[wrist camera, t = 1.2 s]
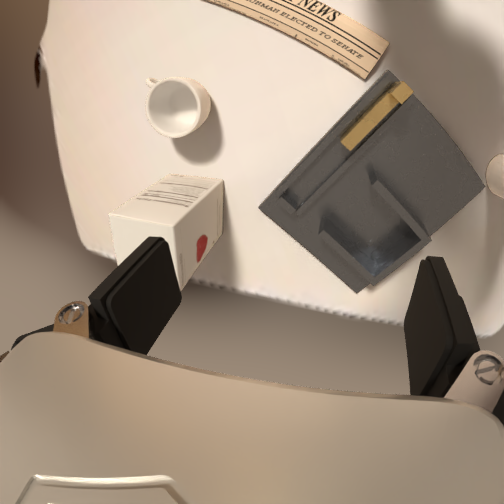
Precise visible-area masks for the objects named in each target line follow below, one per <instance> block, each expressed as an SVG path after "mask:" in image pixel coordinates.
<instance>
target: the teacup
mask: <svg viewBox="0 0 504 504" xmlns="http://www.w3.org/2000/svg"><path fill="white" fill-rule="evenodd" d="M152 82H153V83H152ZM154 83H155V84H154ZM146 84H147V85H148V86H149V87H150V88H151V89H150V91H149V93H148V95H147V98H146V102H145V111H146V116H147V119H148V121H149V123H150V124H151V126H152V127H153V128H154V129H155V130H156V131H157V132H158V133H160V134H161V135H163V136H166V137H169V138H179V137H183V136H185V135H187V134H189V133H191V132H193V131H195V130H196V129H198V128H199V127H200V126H201V125H202V124H203V122H204V121H205V120H206V119H207V117H208V115H209V113H210V107H211V102H210V96H209V94H208V92H207V90H206V89H205V88H204V87H203V86H202V85H201V84H200V83H199V82H197V81H195V80H193V79H190V78H183V77H171V78H166V79H163V80H160V81H159V80H157V79H154V78H148V79H147V80H146Z"/></svg>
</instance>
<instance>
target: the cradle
mask: <svg viewBox="0 0 504 504" xmlns="http://www.w3.org/2000/svg"><path fill="white" fill-rule="evenodd" d="M395 81H399V80H398V79H397V78H396V77H395V76H394V75H393V74H392V73H391V72H390V71H389V70H386V71H385V72H384V73H383V74H382V76H381V77H380V78H379V79H378V80H377V81H376V82H375V83H374V84H373V85H372V86H371V87H370V88H369V89H368V90H367V91H366V92H365V93H364V94H363V95H362V96H361V97H360V98H359V99H358V100H357V101H356V102H355V103H354V104H353V105H352V106H351V108H350V109H349V110H348V111H347V112H346V113H345V114H344V115H343V116H342V117H341V118H340V119H339V120H338V121H337V122H336V123H335V124H334V125H333V126H332V128H331V129H330V130H329V131H328V132H327V133H326V134H325V135H324V136H323V137H322V138H321V139H320V140H319V141H318V142H317V143H316V145H315V146H314V147H313V148H312V149H311V150H310V151H309V152H308V153H307V154H306V155H305V156H304V157H303V159H302V160H301V161H300V162H299V163H298V164H297V165H296V166H295V167H294V168H293V169H292V170H291V171H290V173H289V174H288V175H287V176H286V177H285V178H284V179H283V180H282V181H281V182H280V183H279V185H278V186H277V187H276V188H275V189H274V190H273V191H272V192H271V193H270V194H269V196H268V197H267V198H266V199H265V200H264V201H263V202H262V203H261V204H260V206H259V207H258V208H259V209H260V210H262V211H263V212H264V213H265V214H266V215H267V216H269V217H270V218H271V219H272V220H273V221H275V222H276V223H277V224H278V225H279V226H281V227H282V228H283V229H284V230H285V231H286V232H288V233H289V234H290V235H291V236H292V237H293V238H295V239H296V240H297V241H298V242H299V243H300V244H302V245H303V246H304V247H305V248H306V249H307V250H309V251H310V252H311V253H312V254H313V255H314V256H315V257H317V258H318V259H319V260H320V261H321V262H322V263H323V264H325V265H326V266H327V267H328V268H329V269H330V270H331V271H333V272H334V273H335V274H336V275H337V276H338V277H339V278H340V279H342V280H343V281H344V282H345V283H346V284H347V285H348V286H349V287H351V288H352V289H353V290H354V291H355V292H356V293H357V292H359V291H360V290H362V289H363V288H364V287H366V286H367V285H368V284H370V283H371V284H372V285H373V286H374V285H375V284H377V283H378V282H379V281H381V280H382V279H383V278H385V277H386V276H387V275H389V274H390V273H391V272H393V271H394V270H395V269H397V268H398V267H399V266H401V265H402V264H403V263H404V262H406V261H407V260H408V259H409V258H411V257H412V256H413V255H414V254H416V253H417V252H418V251H419V250H421V249H422V248H423V247H424V246H426V245H427V244H428V243H429V242H430V241H432V240H431V238H430V236H431V235H432V234H433V233H434V232H435V231H437V230H438V229H439V228H440V227H441V226H442V225H444V224H445V223H446V222H447V221H448V220H449V219H450V218H452V217H453V216H454V215H455V214H456V213H457V212H458V211H459V210H461V209H462V208H463V207H464V206H465V205H466V204H467V203H468V202H469V201H470V200H471V199H473V198H474V197H475V196H476V195H477V194H478V193H479V192H480V191H481V190H482V189H483V188H484V187H485V185H484V184H483V182H482V181H481V179H480V178H479V176H478V175H477V173H476V172H475V170H474V169H473V167H472V166H471V165H470V163H469V162H468V160H467V159H466V158H465V156H464V155H463V153H462V152H461V151H460V149H459V148H458V147H457V145H456V144H455V143H454V142H453V140H452V139H451V138H450V136H449V135H448V134H447V133H446V131H445V130H444V129H443V128H442V127H441V125H440V124H439V123H438V122H437V121H436V119H435V118H434V117H433V116H432V115H431V114H430V113H429V111H428V110H427V109H426V108H425V107H424V106H423V105H422V104H421V102H420V101H419V100H418V99H417V98H416V97H415V96H414V95H413V94H411V95H410V96H409V97H408V98H407V99H406V100H405V101H404V102H403V103H402V104H400V103H398V104H397V105H396V106H395V107H394V108H393V109H392V110H391V111H390V112H389V113H388V114H387V115H386V116H385V117H384V118H383V119H382V120H381V121H380V122H379V123H378V124H377V125H376V126H375V127H374V128H373V129H372V130H371V131H370V132H369V133H368V134H367V135H366V136H365V137H364V138H363V139H362V140H361V141H360V142H359V143H358V144H357V145H356V146H355V147H354V148H353V149H352V150H351V151H350V150H348V149H347V148H346V147H345V146H344V145H343V144H342V143H341V142H340V138H341V137H342V135H343V134H344V133H345V132H346V131H347V130H348V129H349V128H350V127H351V126H352V125H353V124H354V123H355V122H356V121H357V120H358V119H359V118H360V117H361V116H362V115H363V114H364V113H365V112H366V111H367V110H368V109H369V108H370V107H371V106H372V105H373V104H374V103H375V102H376V101H377V99H378V98H379V97H380V96H381V95H382V94H383V93H384V92H385V91H386V90H387V89H388V88H389V87H390V86H391V85H392V84H393V83H394V82H395Z"/></svg>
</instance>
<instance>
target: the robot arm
mask: <svg viewBox="0 0 504 504" xmlns="http://www.w3.org/2000/svg"><path fill="white" fill-rule="evenodd" d="M88 298H89V300H90V302H91V305H89V307H88V305H87V304H86V303H85V302H83V301H74V302H71V303H68V304H66V305H65V306H63V307H62V308H61V309H60V310H59V311H58V312H57V314H56V316H55V320H54V324H53V325H50V326H47V327H44V328H41V329H39V330H36V331H33V332H31V333H28V334H25V335H22V336H20V337H18V338H17V339H16V341H15V343H14V344H13V346H12V349H11V351H10V352H9V351H7V352H6V353H4V354H2V355H1V356H0V504H504V361H503V359H502V358H501V357H500V356H499V355H497V354H496V353H494V352H492V351H487V350H483V351H480V348H479V345H478V341H477V338H476V335H475V332H474V329H473V326H472V323H471V320H470V317H469V315H468V312H467V309H466V306H465V304H464V301H463V299H462V297H461V296H459V295H458V293H457V290H456V287H455V285H454V282H453V280H452V278H451V275H450V273H449V270H448V268H447V266H446V263H445V261H444V259H443V257H433V256H427V257H426V260H421V262H420V266H419V270H418V274H417V278H416V282H415V285H414V289H413V293H412V296H411V300H410V303H409V306H408V310H407V313H406V316H405V320H404V332H405V339H406V348H407V357H408V367H409V379H410V394H411V395H397V394H379V393H365V392H353V391H340V390H330V389H320V388H311V387H302V386H295V385H288V384H281V383H275V382H268V381H261V380H256V379H249V378H244V377H238V376H233V375H228V374H223V373H218V372H213V371H209V370H204V369H200V368H195V367H191V366H186V365H182V364H178V363H174V362H170V361H166V360H162V359H158V358H155V357H151V356H147V353H148V352H149V350H150V349H151V347H152V346H153V344H154V342H155V341H156V339H157V338H158V336H159V335H160V333H161V332H162V330H163V329H164V327H165V326H166V324H167V323H168V321H169V320H170V318H171V317H172V315H173V314H174V312H175V311H176V309H177V308H178V306H179V305H180V303H181V299H182V296H181V291H180V288H179V284H178V280H177V276H176V272H175V268H174V264H173V260H172V256H171V252H170V247H169V244H168V242H167V241H165V239H164V238H163V237H153V236H149V237H148V238H147V239H145V240H144V241H143V242H142V243H141V244H140V245H139V246H138V247H137V248H136V249H135V250H134V251H133V252H132V253H131V254H130V255H129V256H128V257H127V258H126V259H125V260H124V261H123V262H122V263H121V264H120V265H119V266H118V267H117V268H116V269H115V270H114V271H113V272H112V273H111V274H110V275H109V276H108V277H107V278H106V279H105V280H104V281H103V282H102V283H101V284H100V285H99V286H98V287H97V288H96V289H95V291H93V292H92V293H91V295H90V296H89V297H88Z"/></svg>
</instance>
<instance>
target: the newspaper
mask: <svg viewBox="0 0 504 504" xmlns="http://www.w3.org/2000/svg"><path fill="white" fill-rule="evenodd" d="M207 1H209V2H212V3H215V4H218V5H221V6H224V7H226V8H229V9H232V10H234V11H237V12H239V13H242V14H244V15H247V16H249V17H251V18H254V19H256V20H258V21H261V22H263V23H265V24H267V25H269V26H272V27H274V28H276V29H278V30H280V31H282V32H284V33H286V34H288V35H290V36H292V37H294V38H296V39H298V40H300V41H302V42H303V43H305V44H307V45H309V46H311V47H313V48H314V49H316V50H318V51H320V52H321V53H323V54H325V55H327V56H328V57H330V58H332V59H333V60H335V61H337V62H338V63H340V64H342V65H343V66H345V67H346V68H348V69H349V70H351V71H353V72H354V73H356V74H357V75H359V76H360V77H362V78H363V79H365V78H366V77H367V76H368V74H369V73H370V71H371V70H372V68H373V67H374V66H375V64H376V63H377V61H378V60H379V58H380V57H381V55H382V54H383V52H384V51H385V49H386V48H387V46H388V45H389V42H388V41H386V40H385V39H383V38H382V37H380V36H379V35H377V34H376V33H374V32H373V31H371V30H369V29H368V28H366V27H365V26H363V25H361V24H360V23H358V22H356V21H355V20H353V19H351V18H350V17H348V16H346V15H344V14H342V13H341V12H339V11H337V10H335V9H333V8H331V7H330V6H328V5H326V4H324V3H322V2H320V1H318V0H207Z"/></svg>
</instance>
